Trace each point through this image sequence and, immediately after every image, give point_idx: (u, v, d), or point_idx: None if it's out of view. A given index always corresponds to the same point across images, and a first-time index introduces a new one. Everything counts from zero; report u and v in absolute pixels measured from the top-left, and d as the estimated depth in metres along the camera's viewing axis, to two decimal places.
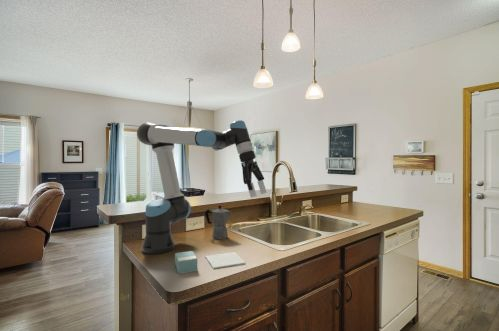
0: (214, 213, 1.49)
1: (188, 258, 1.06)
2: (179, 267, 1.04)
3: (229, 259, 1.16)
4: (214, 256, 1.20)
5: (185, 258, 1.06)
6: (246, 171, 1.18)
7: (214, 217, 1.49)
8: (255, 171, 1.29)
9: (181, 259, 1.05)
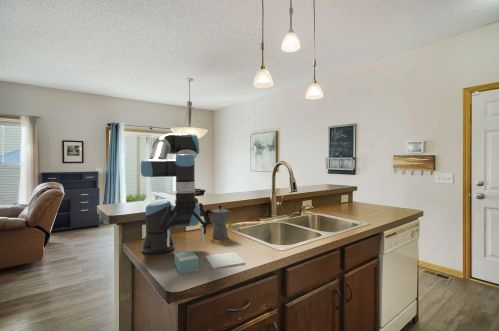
0: (214, 213, 1.49)
1: (190, 258, 1.06)
2: (181, 267, 1.04)
3: (229, 259, 1.16)
4: (214, 256, 1.20)
5: (187, 258, 1.06)
6: (164, 217, 1.05)
7: (214, 217, 1.49)
8: (194, 215, 1.10)
9: (182, 259, 1.05)
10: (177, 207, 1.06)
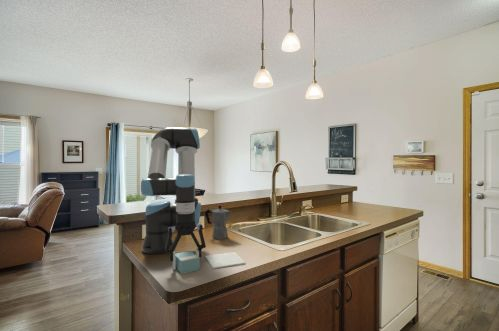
0: (214, 213, 1.49)
1: (190, 258, 1.06)
2: (182, 267, 1.04)
3: (229, 259, 1.16)
4: (214, 256, 1.20)
5: (188, 258, 1.06)
6: (167, 240, 1.06)
7: (214, 217, 1.49)
8: None
9: (183, 259, 1.05)
10: (177, 228, 1.07)
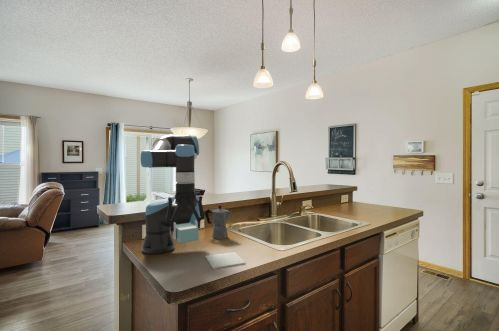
0: (214, 213, 1.49)
1: (189, 228, 1.06)
2: (181, 236, 1.03)
3: (229, 259, 1.16)
4: (214, 256, 1.20)
5: (186, 228, 1.06)
6: (167, 210, 1.06)
7: (214, 217, 1.49)
8: (191, 207, 1.09)
9: (182, 228, 1.05)
10: (177, 197, 1.07)
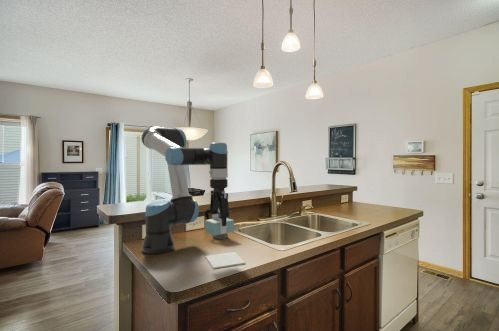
0: None
1: (211, 221, 1.12)
2: (205, 226, 1.15)
3: (229, 259, 1.16)
4: (214, 256, 1.20)
5: (212, 220, 1.13)
6: None
7: None
8: None
9: (209, 220, 1.15)
10: (213, 191, 1.17)
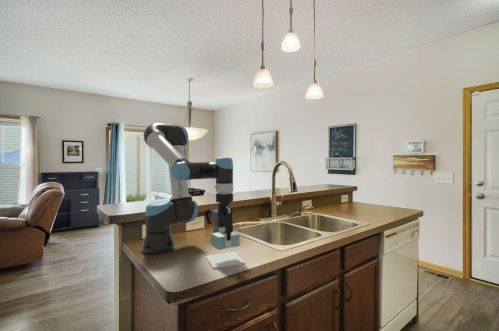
0: (214, 213, 1.49)
1: (216, 235, 1.14)
2: (211, 239, 1.17)
3: (229, 259, 1.16)
4: (214, 256, 1.20)
5: (217, 234, 1.15)
6: None
7: (214, 217, 1.49)
8: None
9: (215, 233, 1.17)
10: (220, 205, 1.19)
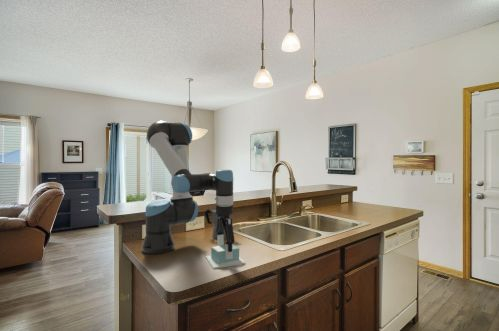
0: (214, 213, 1.49)
1: (216, 249, 1.14)
2: (211, 252, 1.17)
3: None
4: None
5: (217, 248, 1.15)
6: None
7: (214, 217, 1.49)
8: None
9: (215, 247, 1.17)
10: (220, 217, 1.19)
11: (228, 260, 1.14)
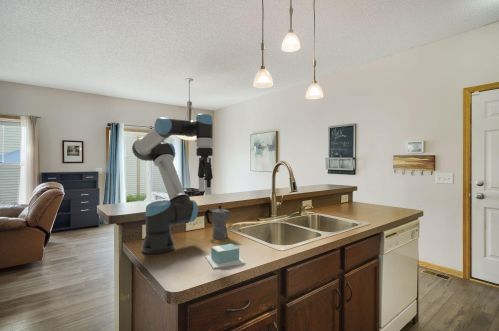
0: (214, 213, 1.49)
1: (216, 249, 1.14)
2: (211, 252, 1.17)
3: None
4: None
5: (217, 248, 1.15)
6: None
7: (214, 217, 1.49)
8: None
9: (215, 247, 1.17)
10: (200, 160, 1.27)
11: (228, 260, 1.14)
